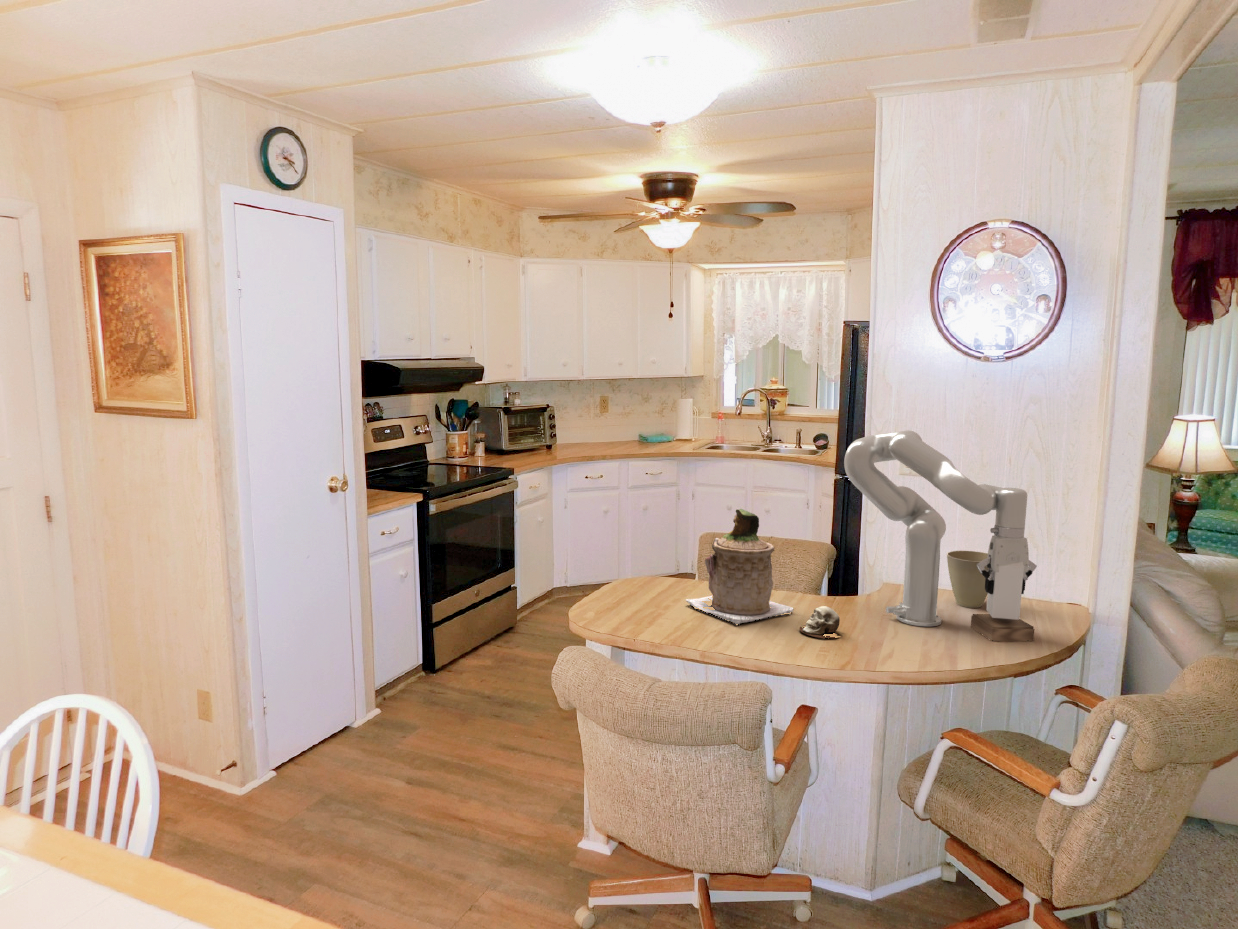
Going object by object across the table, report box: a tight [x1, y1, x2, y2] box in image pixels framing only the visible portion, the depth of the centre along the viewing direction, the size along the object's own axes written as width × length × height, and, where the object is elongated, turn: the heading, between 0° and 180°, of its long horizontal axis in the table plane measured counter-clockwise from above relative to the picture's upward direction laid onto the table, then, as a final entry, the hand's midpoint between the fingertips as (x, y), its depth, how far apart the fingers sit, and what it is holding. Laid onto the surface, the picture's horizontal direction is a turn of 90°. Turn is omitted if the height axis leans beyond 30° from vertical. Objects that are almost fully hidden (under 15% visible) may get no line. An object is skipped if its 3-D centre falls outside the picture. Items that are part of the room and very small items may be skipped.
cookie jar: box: [684, 508, 795, 625], centre depth 251 cm, size 25×25×32 cm
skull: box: [799, 605, 841, 640], centre depth 233 cm, size 12×10×10 cm
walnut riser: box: [970, 613, 1035, 642], centre depth 234 cm, size 12×12×4 cm
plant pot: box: [946, 550, 988, 609], centre depth 261 cm, size 15×15×16 cm
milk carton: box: [986, 562, 1024, 620], centre depth 233 cm, size 7×7×19 cm
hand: (1004, 592), depth 233 cm, fingers closed on milk carton, 8 cm apart
